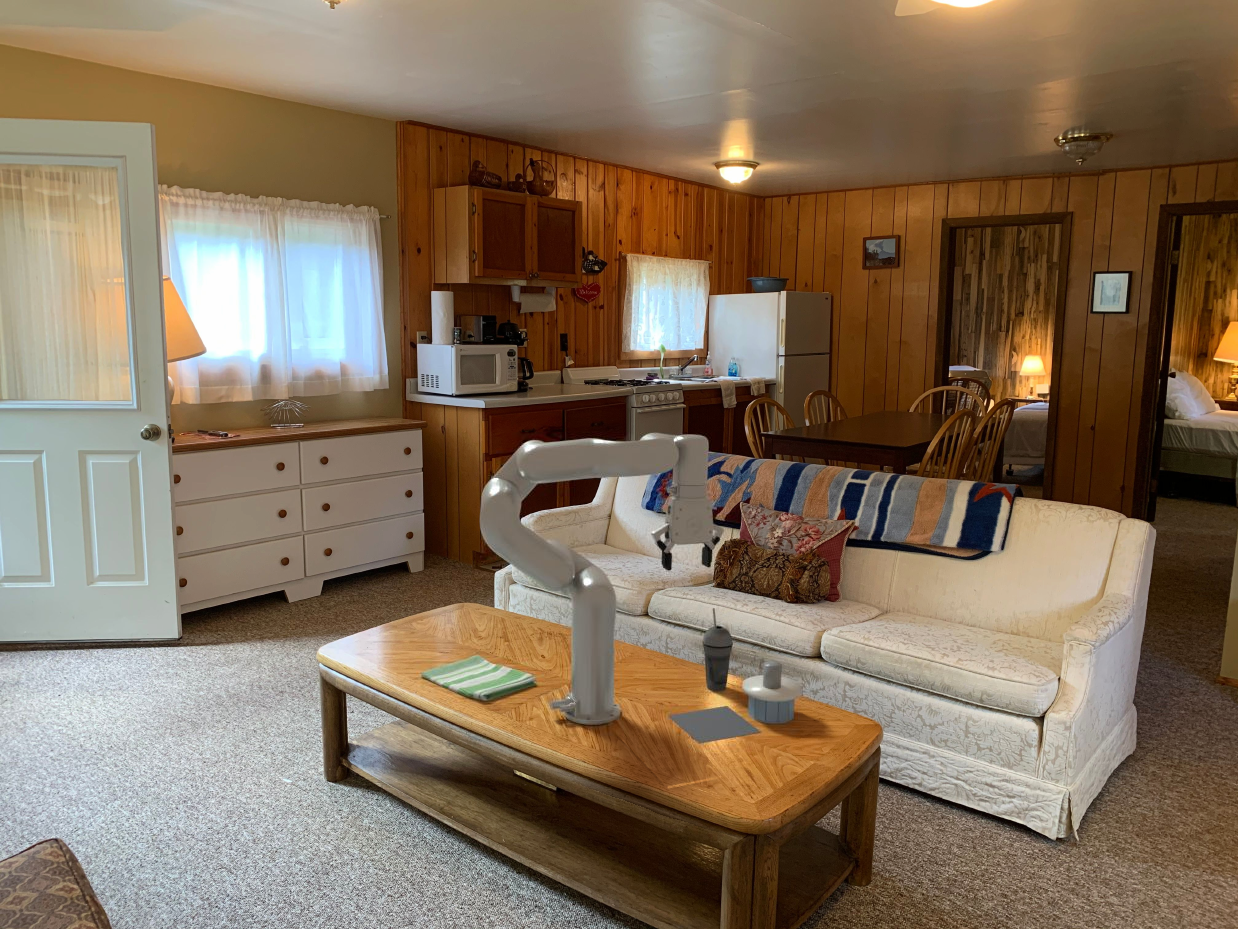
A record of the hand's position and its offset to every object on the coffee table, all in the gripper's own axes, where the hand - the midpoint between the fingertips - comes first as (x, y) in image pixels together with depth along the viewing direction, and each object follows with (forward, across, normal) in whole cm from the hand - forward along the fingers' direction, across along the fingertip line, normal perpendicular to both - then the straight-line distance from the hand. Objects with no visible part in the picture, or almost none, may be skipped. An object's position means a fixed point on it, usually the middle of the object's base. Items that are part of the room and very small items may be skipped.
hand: (686, 567), depth 206 cm
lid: (+27, +17, -10) cm, 33 cm away
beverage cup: (+33, +13, +8) cm, 37 cm away
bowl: (+33, +17, -10) cm, 38 cm away
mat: (+33, +3, -10) cm, 35 cm away
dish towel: (+34, -38, +33) cm, 61 cm away
